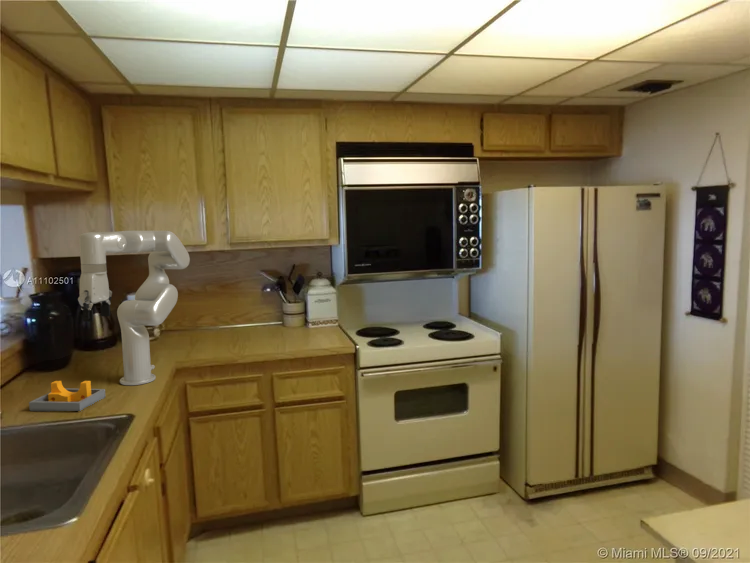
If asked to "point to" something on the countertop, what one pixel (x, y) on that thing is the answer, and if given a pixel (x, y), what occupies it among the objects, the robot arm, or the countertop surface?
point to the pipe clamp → (63, 395)
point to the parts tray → (46, 405)
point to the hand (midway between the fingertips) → (97, 318)
